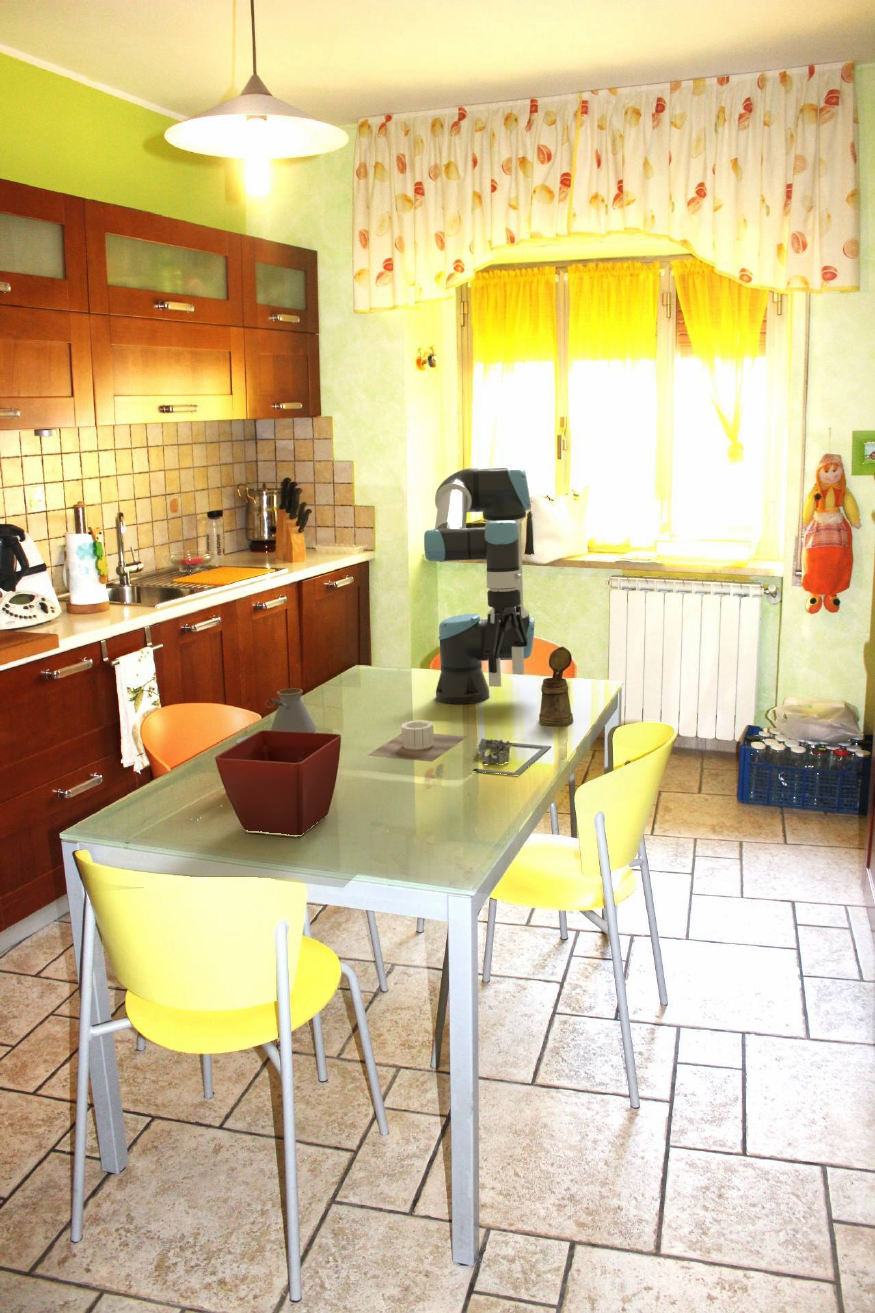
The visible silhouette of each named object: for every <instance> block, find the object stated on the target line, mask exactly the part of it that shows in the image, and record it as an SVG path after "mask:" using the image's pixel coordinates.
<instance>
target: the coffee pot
mask: <svg viewBox="0 0 875 1313" xmlns="http://www.w3.org/2000/svg"><path fill="white" fill-rule="evenodd" d="M303 692H304V691H303V689H301V688H294V687H291V688H286V689H285V688H284V689H281V690H278V691H276V694H277V695H278V697H279V698H280V699H279V700H278V699H275V698H269V699H267V700H266V701H265V702H264V704H265V705H264V706H266V707H267V708H269V706H268V705H267V704H266V703H267V702H268V701H269V702H270V703H271V704H272V706H270V708H272V707H274V706H278V707H277V710H276V712H275V716H274V719H273V720H272V721H273V722H272V725H271V728H270V730H273V731H291V732H310V733H316V730H317V727H316V725H315V723H314V721H313V719H312V717H311V716H310V713H309V711H308V709H307V707H306V706H305V704H304V702H303V700H302V694H303Z"/></svg>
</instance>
